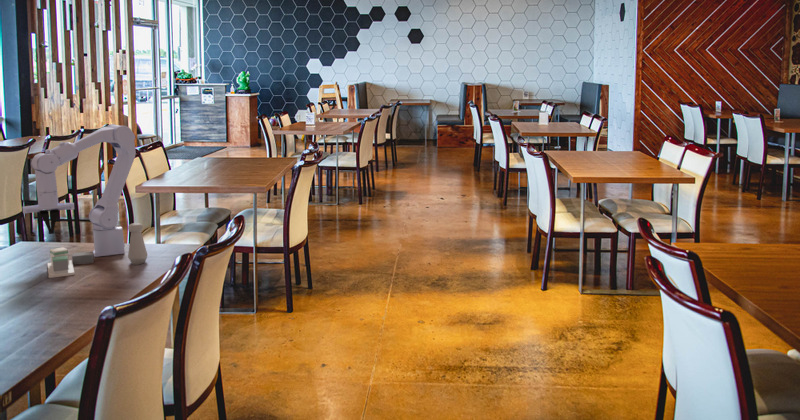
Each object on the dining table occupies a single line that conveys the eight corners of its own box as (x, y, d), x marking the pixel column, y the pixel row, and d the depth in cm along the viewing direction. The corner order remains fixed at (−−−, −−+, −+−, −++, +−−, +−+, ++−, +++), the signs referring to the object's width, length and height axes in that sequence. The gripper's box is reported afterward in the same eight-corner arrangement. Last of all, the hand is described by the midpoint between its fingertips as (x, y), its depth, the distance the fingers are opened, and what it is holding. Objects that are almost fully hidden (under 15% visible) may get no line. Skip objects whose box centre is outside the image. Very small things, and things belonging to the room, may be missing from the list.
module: (69, 265, 210) (67, 249, 209) (55, 267, 207) (53, 252, 206) (65, 262, 213) (63, 247, 212) (51, 264, 210) (49, 249, 209)
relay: (94, 260, 222) (93, 251, 221) (93, 263, 218) (92, 254, 218) (74, 261, 220) (73, 253, 219) (72, 265, 216) (71, 256, 215)
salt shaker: (151, 260, 221) (148, 222, 218) (142, 265, 215) (139, 226, 213) (134, 260, 221) (131, 221, 219) (125, 264, 216) (122, 225, 213)
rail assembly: (71, 262, 218) (70, 247, 217) (74, 274, 205) (73, 258, 204) (47, 265, 215) (46, 249, 214) (48, 277, 202) (47, 261, 201)
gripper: (71, 187, 220) (75, 228, 222) (21, 191, 213) (25, 232, 216) (73, 191, 213) (76, 232, 216) (20, 194, 207) (25, 237, 209)
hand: (51, 233), depth 216 cm, fingers closed
